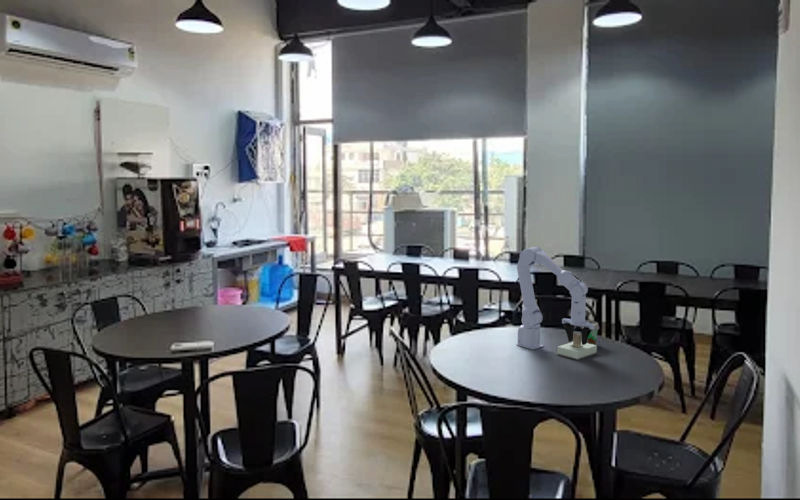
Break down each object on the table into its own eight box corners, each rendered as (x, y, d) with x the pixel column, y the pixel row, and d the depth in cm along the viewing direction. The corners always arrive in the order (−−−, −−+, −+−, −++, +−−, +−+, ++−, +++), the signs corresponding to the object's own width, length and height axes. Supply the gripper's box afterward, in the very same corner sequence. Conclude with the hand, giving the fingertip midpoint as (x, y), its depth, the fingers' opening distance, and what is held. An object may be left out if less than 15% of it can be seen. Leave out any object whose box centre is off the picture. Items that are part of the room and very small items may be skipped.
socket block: (557, 354, 268) (557, 346, 267) (576, 348, 277) (576, 340, 276) (577, 359, 260) (577, 351, 260) (596, 353, 269) (596, 345, 269)
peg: (571, 352, 268) (572, 334, 267) (575, 351, 270) (576, 333, 269) (577, 354, 266) (578, 336, 265) (582, 353, 268) (583, 334, 267)
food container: (602, 348, 276) (603, 326, 275) (588, 348, 276) (588, 326, 275) (594, 341, 288) (594, 319, 287) (580, 341, 288) (581, 319, 287)
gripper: (558, 309, 269) (557, 341, 271) (587, 315, 258) (586, 348, 260) (567, 307, 273) (566, 338, 275) (597, 313, 262) (596, 345, 264)
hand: (577, 342), depth 268 cm, fingers open, 6 cm apart
